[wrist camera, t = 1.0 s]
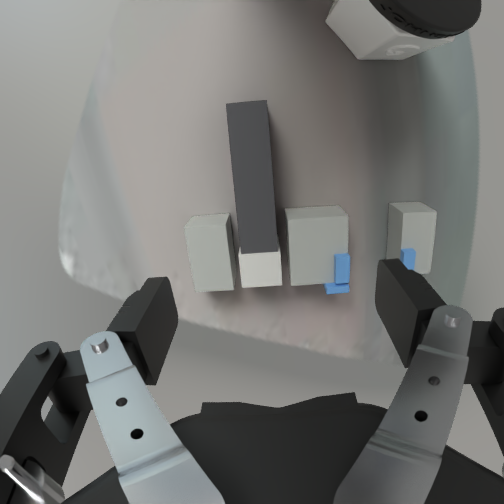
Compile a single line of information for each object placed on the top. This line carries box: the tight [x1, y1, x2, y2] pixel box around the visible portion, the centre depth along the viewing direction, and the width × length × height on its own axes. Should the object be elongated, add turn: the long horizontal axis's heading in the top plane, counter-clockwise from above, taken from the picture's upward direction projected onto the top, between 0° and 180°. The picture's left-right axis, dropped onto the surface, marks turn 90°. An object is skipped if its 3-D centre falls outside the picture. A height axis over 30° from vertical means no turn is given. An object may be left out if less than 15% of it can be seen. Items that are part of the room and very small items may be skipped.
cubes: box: [184, 202, 437, 294], centre depth 28 cm, size 7×22×4 cm, turn 95°
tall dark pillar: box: [226, 100, 282, 288], centre depth 26 cm, size 15×3×4 cm, turn 5°
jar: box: [326, 0, 481, 60], centre depth 16 cm, size 9×8×12 cm
